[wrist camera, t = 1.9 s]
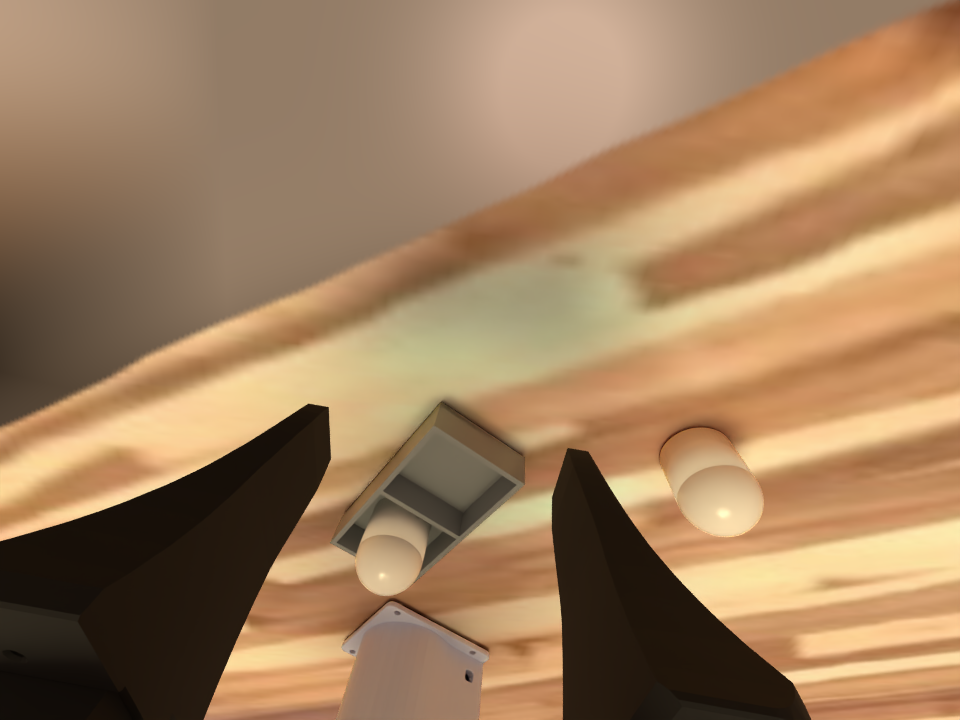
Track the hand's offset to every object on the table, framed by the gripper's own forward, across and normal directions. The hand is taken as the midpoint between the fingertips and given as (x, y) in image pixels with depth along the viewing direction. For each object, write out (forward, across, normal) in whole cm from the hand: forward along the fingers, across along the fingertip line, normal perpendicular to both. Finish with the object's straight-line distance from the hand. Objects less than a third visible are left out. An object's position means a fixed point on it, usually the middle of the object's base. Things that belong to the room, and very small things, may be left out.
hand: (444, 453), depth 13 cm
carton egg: (+9, +3, +14) cm, 16 cm away
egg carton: (+9, +1, +11) cm, 15 cm away
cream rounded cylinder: (+9, -13, +6) cm, 17 cm away
